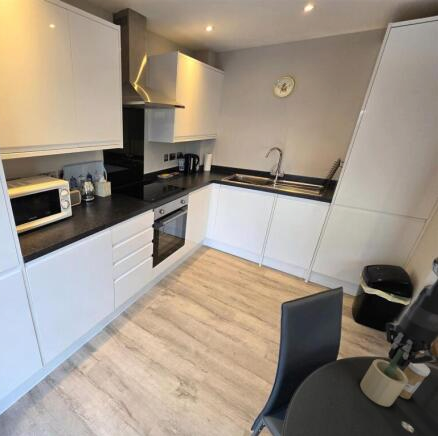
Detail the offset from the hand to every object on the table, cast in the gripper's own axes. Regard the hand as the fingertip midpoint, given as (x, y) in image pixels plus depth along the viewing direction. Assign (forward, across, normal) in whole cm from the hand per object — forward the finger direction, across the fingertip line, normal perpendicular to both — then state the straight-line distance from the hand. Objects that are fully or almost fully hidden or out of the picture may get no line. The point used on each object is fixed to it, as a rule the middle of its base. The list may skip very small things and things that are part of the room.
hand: (396, 361), depth 76 cm
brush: (+13, 0, 0) cm, 13 cm away
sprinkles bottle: (+15, 0, -9) cm, 18 cm away
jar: (+15, 0, 0) cm, 15 cm away
